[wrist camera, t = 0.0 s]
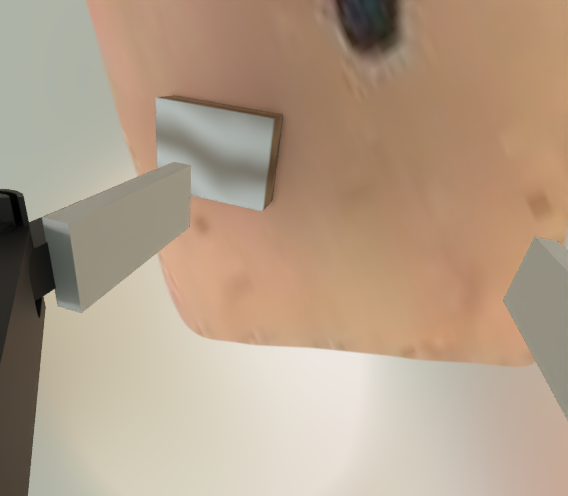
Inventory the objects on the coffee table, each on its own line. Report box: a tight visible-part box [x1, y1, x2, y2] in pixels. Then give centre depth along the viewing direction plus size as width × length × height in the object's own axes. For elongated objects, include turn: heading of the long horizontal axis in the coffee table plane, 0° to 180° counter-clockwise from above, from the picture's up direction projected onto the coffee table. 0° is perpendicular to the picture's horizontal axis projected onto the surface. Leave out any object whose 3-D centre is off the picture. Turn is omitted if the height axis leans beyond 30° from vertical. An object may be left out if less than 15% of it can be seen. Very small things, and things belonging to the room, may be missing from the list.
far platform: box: [156, 96, 283, 211], centre depth 42 cm, size 10×13×4 cm
